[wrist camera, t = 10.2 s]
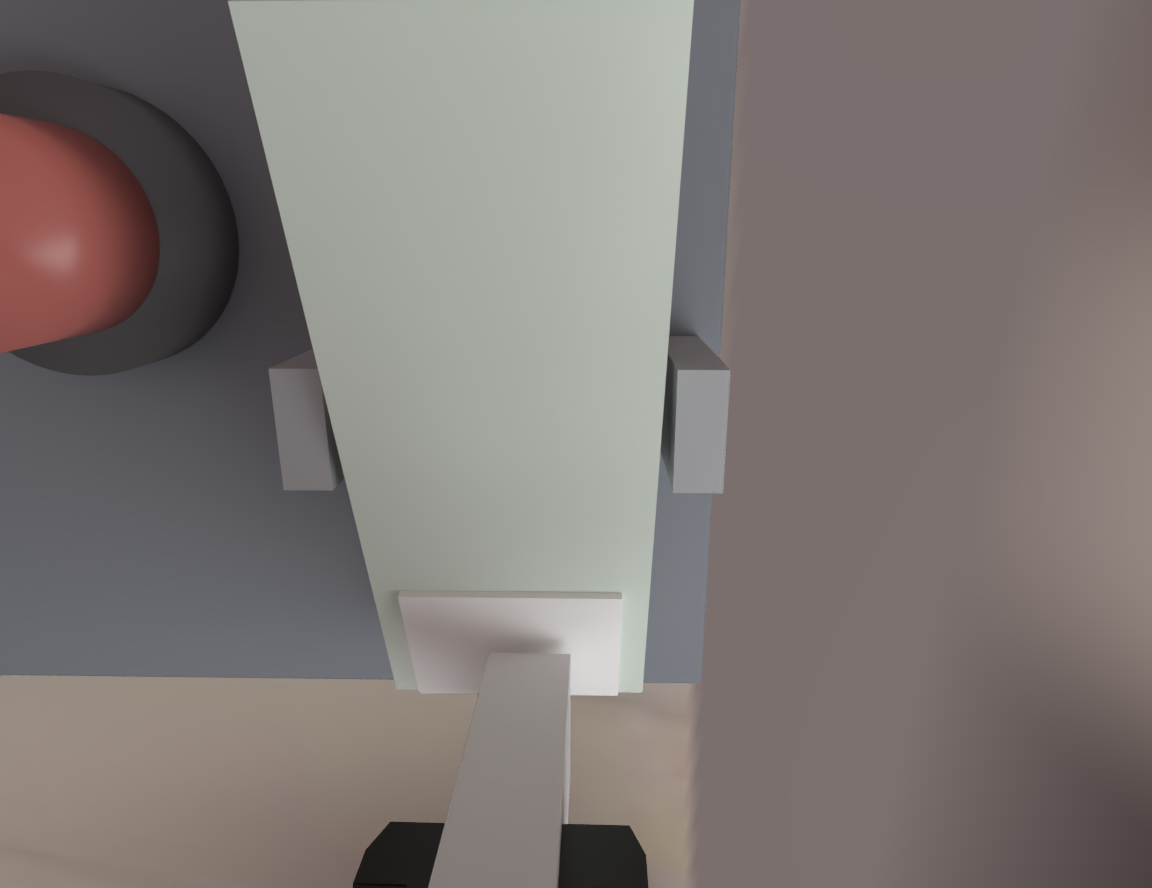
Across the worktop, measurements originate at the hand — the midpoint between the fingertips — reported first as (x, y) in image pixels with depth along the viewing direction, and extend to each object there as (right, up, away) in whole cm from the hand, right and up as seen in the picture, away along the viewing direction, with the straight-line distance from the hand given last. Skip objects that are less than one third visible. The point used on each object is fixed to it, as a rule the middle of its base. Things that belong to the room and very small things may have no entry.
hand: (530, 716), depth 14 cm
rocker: (0, +5, -2) cm, 6 cm away
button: (-8, +9, -1) cm, 12 cm away
